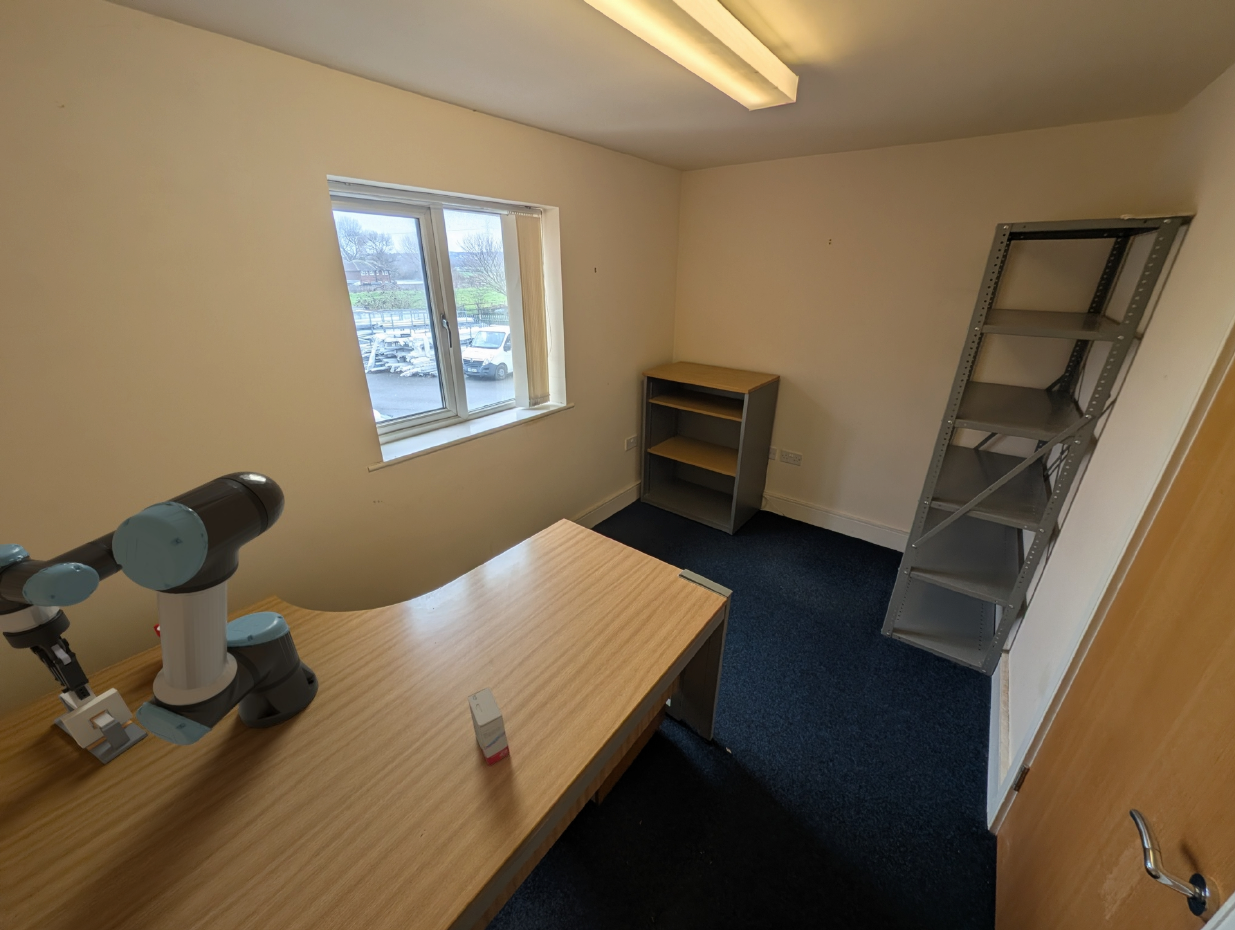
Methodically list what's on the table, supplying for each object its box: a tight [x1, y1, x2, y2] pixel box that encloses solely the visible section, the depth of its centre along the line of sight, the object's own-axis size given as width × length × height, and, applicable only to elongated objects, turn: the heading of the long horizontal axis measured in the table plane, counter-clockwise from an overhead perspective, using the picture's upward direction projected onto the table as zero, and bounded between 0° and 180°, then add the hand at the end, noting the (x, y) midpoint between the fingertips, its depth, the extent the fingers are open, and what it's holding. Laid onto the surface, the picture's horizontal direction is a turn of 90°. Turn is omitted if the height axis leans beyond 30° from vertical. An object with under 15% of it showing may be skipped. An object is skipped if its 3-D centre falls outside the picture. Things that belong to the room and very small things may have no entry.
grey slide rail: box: [52, 692, 149, 765], centre depth 99 cm, size 23×7×7 cm, turn 66°
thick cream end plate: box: [60, 687, 134, 749], centre depth 96 cm, size 2×8×8 cm, turn 156°
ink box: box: [467, 686, 510, 767], centre depth 94 cm, size 9×5×12 cm, turn 33°
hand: (89, 706), depth 96 cm, fingers closed
